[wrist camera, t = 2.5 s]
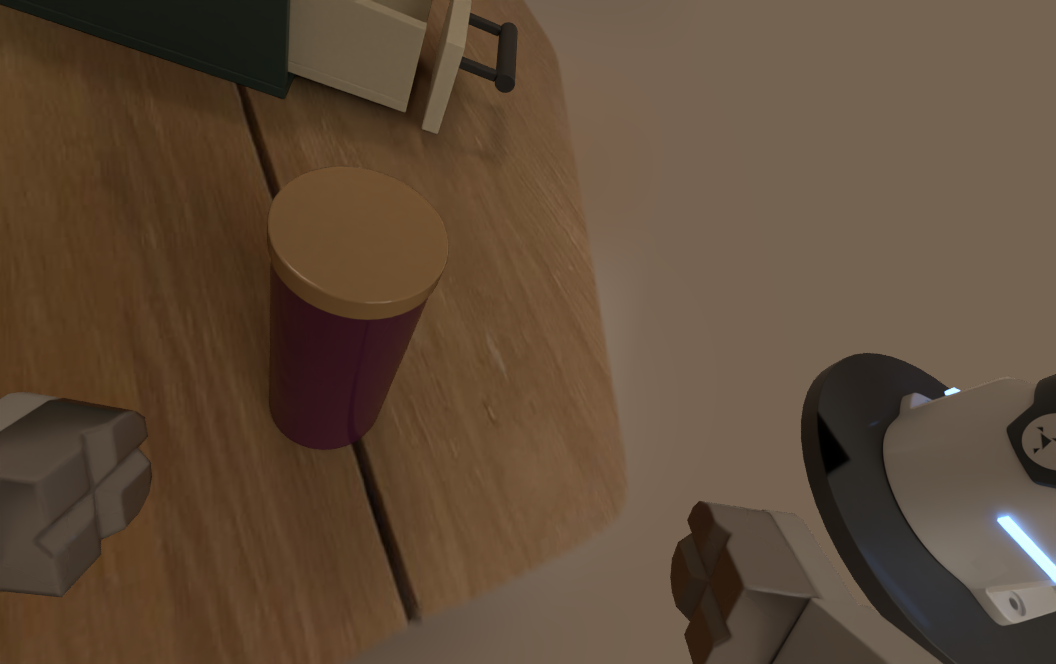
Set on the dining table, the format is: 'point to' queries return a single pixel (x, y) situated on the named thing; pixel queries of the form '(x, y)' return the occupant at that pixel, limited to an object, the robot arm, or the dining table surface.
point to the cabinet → (189, 33)
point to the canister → (345, 297)
